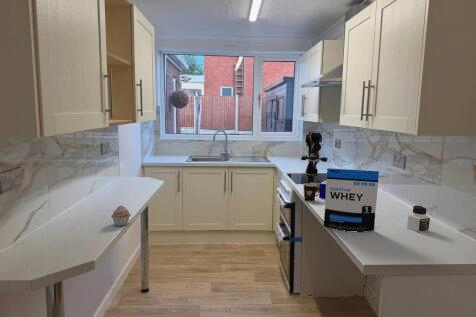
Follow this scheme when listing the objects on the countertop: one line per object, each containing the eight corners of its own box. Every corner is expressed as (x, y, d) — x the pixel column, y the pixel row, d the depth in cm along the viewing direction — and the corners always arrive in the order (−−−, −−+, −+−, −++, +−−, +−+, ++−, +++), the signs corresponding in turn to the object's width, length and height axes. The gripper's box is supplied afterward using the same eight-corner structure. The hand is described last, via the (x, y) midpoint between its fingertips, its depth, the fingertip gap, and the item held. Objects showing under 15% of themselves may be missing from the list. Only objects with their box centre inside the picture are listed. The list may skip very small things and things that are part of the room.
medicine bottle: (418, 232, 170) (421, 209, 168) (406, 227, 176) (408, 205, 174) (428, 230, 172) (431, 207, 171) (416, 226, 179) (418, 203, 177)
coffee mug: (300, 199, 225) (300, 184, 223) (307, 197, 231) (308, 182, 229) (316, 203, 217) (316, 187, 215) (322, 200, 223) (323, 185, 221)
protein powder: (323, 223, 181) (326, 166, 176) (372, 227, 175) (377, 169, 171) (323, 229, 172) (327, 169, 167) (375, 234, 166) (380, 173, 162)
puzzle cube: (319, 198, 230) (319, 183, 229) (322, 194, 239) (323, 180, 237) (334, 200, 226) (335, 185, 224) (337, 196, 234) (338, 182, 233)
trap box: (310, 186, 263) (310, 178, 262) (334, 188, 256) (335, 181, 255) (306, 190, 249) (307, 182, 248) (332, 193, 242) (332, 185, 242)
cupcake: (124, 228, 167) (123, 208, 165) (107, 226, 169) (106, 206, 168) (134, 222, 176) (134, 203, 174) (118, 220, 178) (118, 201, 177)
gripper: (300, 149, 252) (299, 170, 255) (326, 151, 245) (324, 173, 248) (303, 148, 263) (302, 168, 265) (328, 149, 256) (327, 170, 258)
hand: (313, 170), depth 259 cm, fingers closed
